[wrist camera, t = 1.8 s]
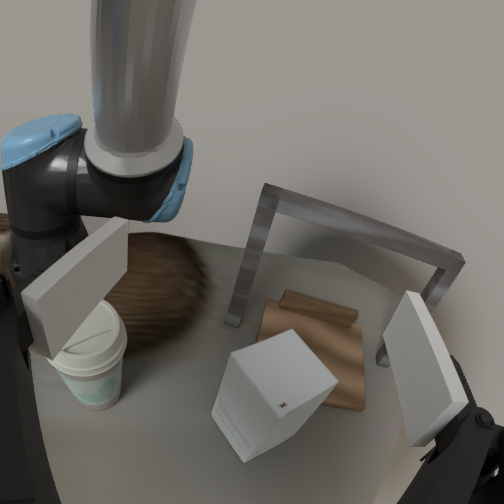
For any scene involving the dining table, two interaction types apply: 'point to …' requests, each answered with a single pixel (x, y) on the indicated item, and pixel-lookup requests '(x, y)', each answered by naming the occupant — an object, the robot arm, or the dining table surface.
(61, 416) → the dining table surface
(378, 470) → the dining table surface
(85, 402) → the coffee cup
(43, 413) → the dining table surface
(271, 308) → the keeper arch
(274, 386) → the supplement box
